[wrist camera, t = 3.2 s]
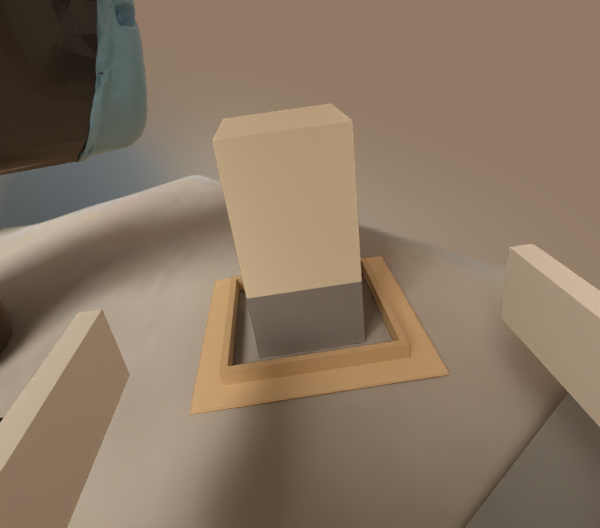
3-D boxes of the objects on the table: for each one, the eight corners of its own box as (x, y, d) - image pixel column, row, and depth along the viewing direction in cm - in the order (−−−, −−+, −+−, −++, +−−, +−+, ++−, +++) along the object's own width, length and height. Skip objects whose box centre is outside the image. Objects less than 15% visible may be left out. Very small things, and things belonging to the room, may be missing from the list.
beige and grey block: (259, 358, 23) (212, 140, 17) (259, 299, 28) (223, 118, 23) (365, 341, 23) (352, 120, 17) (345, 286, 28) (330, 103, 23)
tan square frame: (189, 414, 20) (184, 399, 19) (215, 281, 31) (212, 270, 31) (449, 374, 20) (450, 359, 20) (381, 257, 31) (381, 245, 31)
